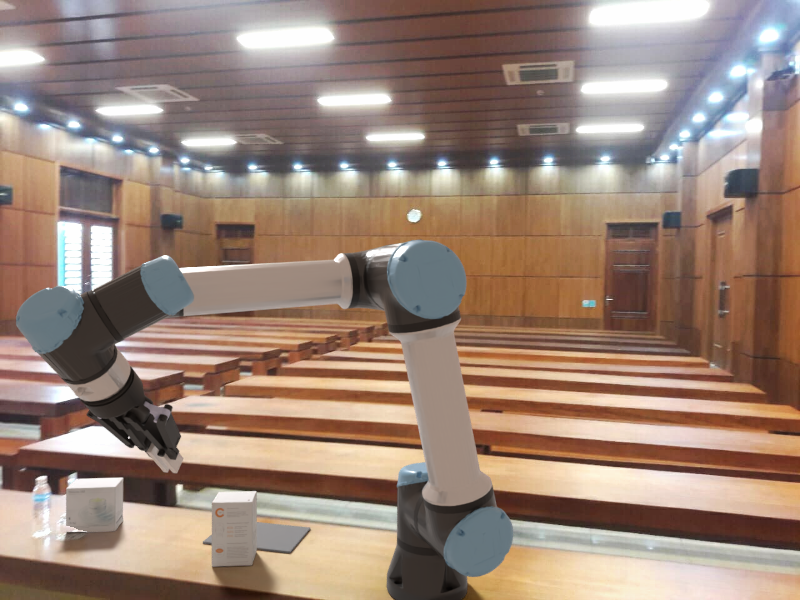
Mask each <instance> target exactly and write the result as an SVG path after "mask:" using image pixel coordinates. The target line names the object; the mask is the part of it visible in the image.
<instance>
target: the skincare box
mask: <svg viewBox="0 0 800 600" xmlns="http://www.w3.org/2000/svg"><path fill="white" fill-rule="evenodd" d="M65 489H66V491H65V495H66V497H65V500H66V502H65V506H66V507H65V527H66V526H70V527H74V528H76V529H78V530H83V531H87V532H86V533H104V532H106V533H108V532H109V533H110V532H116V531H117V530H118V528H119V526H121V524H122V523H123V522H124V514H123V513H124V477H97V478H96V477H95V478H92V477H91V478H75V479H74V480H73V481H72V482H71V483H70V484H69V485H68V486H67V487H66V488H65Z"/></svg>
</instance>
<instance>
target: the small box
mask: <svg viewBox="0 0 800 600" xmlns="http://www.w3.org/2000/svg"><path fill="white" fill-rule="evenodd" d="M257 497H258V496H257V491H256V490H252V491H250V490H247V491H243V490H242V491H218V492H217V494H216V496H215V498H214V499H213V500H212V502H211V535H212V544H211V567H212V568H213V567H216V568H217V567H238V566H239V567H240V566H253V563H254V560H255V558H256V554H257V551H258V550H257V522H258V517H257V516H258V515H257V513H258V510H257V509H258V502H257V500H258V498H257Z"/></svg>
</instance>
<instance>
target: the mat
mask: <svg viewBox="0 0 800 600" xmlns="http://www.w3.org/2000/svg"><path fill="white" fill-rule="evenodd" d="M308 531H311V527H307V526H301V525H290V524H288V525H287V524H279V523H270V522H262V521H257V551H266V552H268V551H269V552H275V553H282V554H283V553H284V554H285V553H286V554H291V553H292V552H293V551H294V550H295V548H296V547H297V546H298V545H299V544H300V543H301V541H302V540H303V539H304V538H305V536H306V535H307V534H308V533H309V532H308ZM202 544H203V545H204V544H205V545H212V534H211V535H209V536H208V537H206V538H205V539H204V540H203V541H202Z"/></svg>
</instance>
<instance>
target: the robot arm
mask: <svg viewBox="0 0 800 600" xmlns="http://www.w3.org/2000/svg"><path fill="white" fill-rule="evenodd" d="M466 275H467V274H466V271H465V267H464V265H463V263H462V261H461V259H460V258H459V256H458V255H457V254H456V253H455V252H454V250H452V249H451V248H449V247H448V246H447V245H445V244H443V243H441V242H438V241H436V240H435V241H434V240H424V239H411V240H409V241H405V242H400V243H391V244H386V245H383V246H378V247H375V248H371V249H366V250H362V251H357V252H345V253H344V252H341V253H338V254H337V255H336V257H334V259H323V260H322V259H321V260H304V261H287V262H285V261H284V262H270V263H269V262H268V263H267V262H265V263H252V264H251V263H250V264H231V265H229V264H228V265H217V266H216V265H213V266H197V267H194V266H193V267H192V266H191V267H179V266H178V264H177V262H176V261H175V260H174V259H173V258H172V257H171V256H170V255H162V256H158V257H157V258H155V259H152V260H149V261H145V262H143V263H142V264H141V265H139V266H137V267H135V268H133V269H131V270H129V271H127V272H125V273H123V274H121V275H119V276H117V277H115V278H113V279H111V280H109V281H107V282H106V283H104V284H101V285H99V286H98V287H96V288H94V289H93V288H92V289H90V290H89V291H85V292H83V293H81V294H80V293H78V292H76V291H75V290H74V289H73V288H72V287H69V286H66V285H56V286H54V287H52V288H50V287H45V288H43V289H40V290H39V291H37V292H35V293H33V294H32V295H30V297H27V299H25V300H24V301H23V303H21V305H20V306H19V308H18V310H17V312H16V316H15V325H16V327H17V328H18V330H19V332H20V333H21V334H22V335H23V336H24V338H25V339H26V341H27V342H28V343H29V344H30V346H31V349H32V350H33V352H34V353H37V354H38V355H39V357H41V359H43V360H44V361H45V362H46V363H47V365H48V366H49V367H50V368H51V369H52V370H53V371H54V372H55V373H56V374H57V376H59V378H60V379H61V380H62V381H63V382H64V383H65V384H66V385H67V386H68V387H69V388H70V390H71V391H72V392H73V393H74V395H75V396H76V397H77V398H79V400H80V401H81V402H82V403H83V405H84V406H85V407H86V408H87V409H88V411H87V412H86V415H85V416H87V417H88V418H90V419H92V420H93V421H96V422H97V423H99V424H100V425H101V426H102V428H104V429H105V430H107V431H108V432H109V433H110V434H112V436H114V437H115V438H117V440H119V441H120V442H121V443H123V444H124V446H126V447H127V448H129V449H134V448H135V447H137V449H138V450H139V451H141V452H143V451H144V452H145V453H146V455H147V456H148V457H149V458H151V460H153V461H154V462H155V464H156V465H157V466H158V467H159V468H160V469H161V471H162V472H163V473H169V471H171V473H172V474H178V472H179V470H180V467H181V465H182V463H183V462H184V457H183V456H182V455H181V453H180V450H179V448H178V445H179V442H180V440H181V438H182V435H181V433H180V430H179V428H178V425H177V423H176V420H175V418H174V415H173V414H172V412H173V409H174V407H173V406H172V405H171V404H168V403H165V404H164V405H163V406H158V405H155V404H154V401H153V400H152V399H151V398H149V397H148V396H146V394H145V391H144V384H143V381H142V379H141V378H140V377H139V375H138V374H137V373H136V371H135V370H134V368H133V367H132V366H131V364H130V363H129V361H128V360H127V358H126V356H124V355H123V353H122V352H121V351H120V349H119V348H118V347H117V345H116V344H118V343H121V342H123V341H124V340H125V339H127V338H130V337H131V336H134V335H135V334H138V333H139V332H141V331H143V330H145V329H147V328H150V327H151V326H153V325H156V324H157V323H159V322H160V321H162V320H164V319H169V318H180V317H186V316H187V317H189V316H191V317H192V316H200V315H201V316H203V315H214V314H215V315H216V314H226V313H227V314H228V313H238V312H250V311H251V312H252V311H253V312H254V311H263V310H275V309H276V310H277V309H289V308H290V309H291V308H299V307H312V306H313V307H314V306H315V307H316V306H326V305H338V306H339V307H340V308H341V309H343V310H347V309H369V310H377V311H383V312H384V314H385V319H386V320H385V321H386V323H387V329H388V333H389V335H390V336H393V337H394V338H395V339H397V340H398V341H400V345H401V349H402V355H403V359H404V363H405V364H404V365H405V369H406V374H407V380H408V382H409V383H408V384H409V389H410V394H411V398H412V403H413V404H412V405H413V407H414V408H413V409H414V414H415V418H416V422H417V423H416V424H417V428H418V432H419V438H420V443H421V447H422V452H423V453H422V454H423V457H424V461H423V462H416V463H414V462H413V463H410V464H407V465H405V466H403V467H400V470H399V471H398V474H397V475H398V476H397V477H398V478H397V484H396V488H397V489H396V490H397V491H396V494H397V495H396V499H397V501H396V503H397V504H396V507H397V508H396V546H395V549H394V551H393V554H392V557H391V561H390V563H389V566H388V570H387V572H386V573H387V574H386V590H387V592H388V594H389V595H390V596H391V597H392V598H393V599H395V600H463V599H464V598H465V597H466V595H467V593H468V577H469V578H478V577H482V576H485V575H487V574H489V573H491V572H493V571H495V570H496V569H497V568H498V567H499V566H500V565H501V564H502V563H503V562H504V561H505V557H506V556H507V555H508V554H509V553H510V550H511V547H512V545H513V541H514V526H513V522H512V521H511V519H510V517H509V516H508V515H507V513H506V512H505V511H504V510H503V509H502V508H500V507H498V506H497V502H496V495H495V492H494V486H493V481H492V479H491V477H490V476H489V475H488V474H486V472H483V471H482V470H481V468H480V464H479V463H480V462H479V458H478V452H477V447H476V442H475V437H474V432H473V426H472V421H471V420H472V419H471V415H470V410H469V405H468V399H467V395H466V389H465V385H464V379H463V374H462V368H461V363H460V358H459V353H458V346H457V342H456V337H455V329H456V328H457V327H458V325H459V323H460V322H461V320H462V316H461V312H460V305H461V304H462V300H463V297H464V296H465V295H466V291H467V276H466Z"/></svg>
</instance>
